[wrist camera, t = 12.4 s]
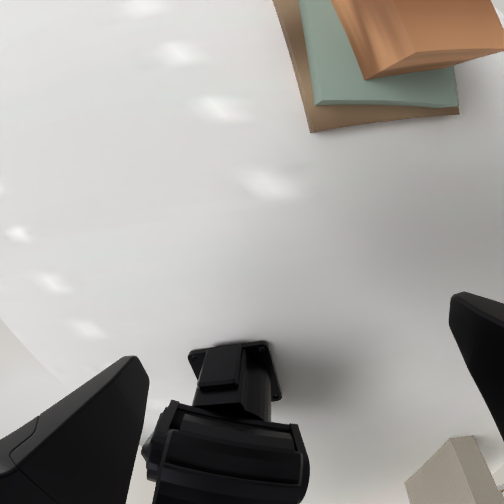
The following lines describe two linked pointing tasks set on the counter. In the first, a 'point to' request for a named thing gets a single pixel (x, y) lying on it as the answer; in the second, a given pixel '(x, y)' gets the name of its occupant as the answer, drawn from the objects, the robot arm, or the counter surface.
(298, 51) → the tower base
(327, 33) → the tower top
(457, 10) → the block
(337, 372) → the counter surface
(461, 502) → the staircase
